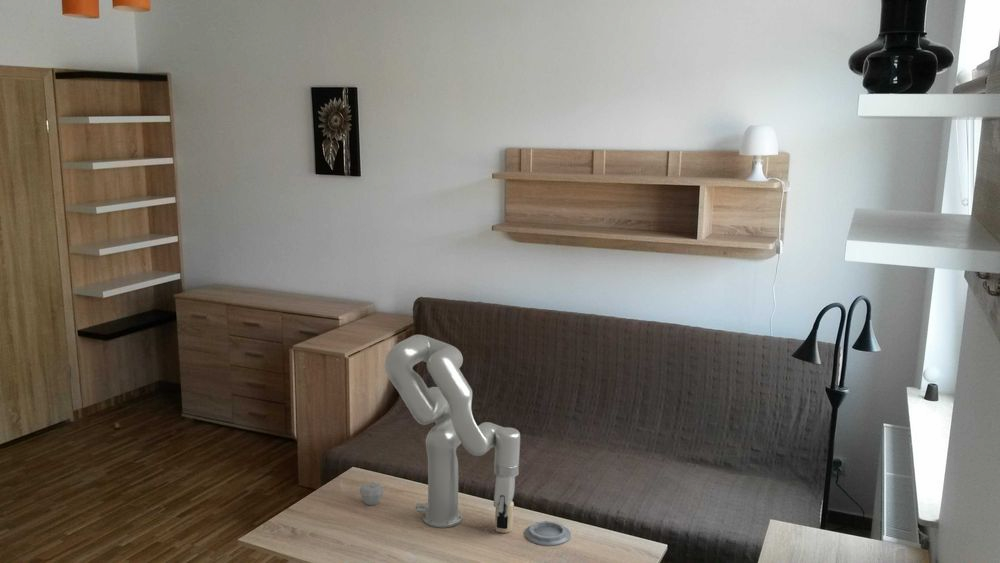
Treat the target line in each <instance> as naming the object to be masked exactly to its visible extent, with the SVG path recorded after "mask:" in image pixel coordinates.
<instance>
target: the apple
mask: <svg viewBox="0 0 1000 563" xmlns="http://www.w3.org/2000/svg"><path fill="white" fill-rule="evenodd" d="M359 493H360V497H361V499H362V501H363V503H364V504H365V505H367V506H374V505H377V504H378V503H380V501H381V499H382V497H383V494H384V489H383V487H382V485H381V483H379V482H375V481H374V482H372V481H371V482H365V483H364V484H362V485H361V486H360V488H359Z"/></svg>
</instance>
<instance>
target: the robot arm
mask: <svg viewBox="0 0 1000 563" xmlns="http://www.w3.org/2000/svg"><path fill="white" fill-rule="evenodd" d="M420 362H425V363H426V368H427V371H428V373H429V375H430V376H431V378H432V380H433V381H434V383H435V385H436V386H431V387H428V386H427V385H426V383H425V382H424V379H423V378H422V377H421V375H419V373H418V372H416V371H415V370H414V369H413V368H414V366H416V365H418V364H419V363H420ZM463 362H464V358H463V355H462V352H461V351H460V350H459V349H458V348H457V347H456V346H453V345H452V344H449V343H447V342H445V341H441V340H438V339H436V338H432V337H431V336H427V335H423V334H413V335H411V336H410V337H408V338H406V339H403V340H401V341H399V342H398V343H397V344H395V345H394V346H392V347H391V348H390V350H389V351H388V353H387V355H386V357H385V361H384V369H385V373H386V375H387V377H388V379H389V381H390V382H391V383H392V385H393V387H394V388H395V389H396V390H397V392H398V394H399V396H400V397H401V399H402V401H403V402H404V403H405V406H406V407H407V409H408V410H409V412H410V414H411V415H412V417H413V418H414V420H415V421H416V422H417V423H418V424H420V425H423V426H425V425H429V424H432V423H435V425H434V426H433V427H432V428H431V429H430V430H429V431H428V433H427V435H426V437H425V449H426V454H427V497H428V499H427V502H425V503H421V502H416V503H415V506H414V508H415V510H416V512H417V513H423V516H422V520H423V522H424V523H425V524H426V525H427V526H430V527H434V528H442V529H444V528H452V527H455V526H457V525H460V524H461V522H462V521H463V519H464V518H463V517H464V515H463V513H462V512H461V510H459V461H458V460H459V459H458V455H457V449H458V447H459V446H460V445H461V444H462V446H463V447H464V449H465V450H466V451H467V452H468V453H469V454H471V455H472V456H475V457H480V456H483V455H485V454H486V453H488V452H489V451H490V450H491V449H492V448H494V462H493V463H494V464H493V465H494V468H493V469H494V470H493V473H494V476H495V475H496V478H495V484H494V495H493V496H494V497H493V507H494V508H496V507H497V506H498V504H499V506H498V515H497V528H503V529H507V524H508V516H507V510H508V508H509V507H510V504H511V502H513V499H514V496H515V489H516V488H515V487H516V484H515V483H516V482H515V481H516V477H517V476H518V475H519V472H520V471H519V470H520V469H519V468H520V452H521V433H520V431H519V430H518V429H516V428H514V427H509V426H507V427H504V426H501V425H500V424H499V425H498V424H495V423H493V422H490V421H488V422H486V421H485V422H482V423H480V424H479V425H477V423H476V421H475V418H474V415H473V411H472V410H473V409H472V402H473V389H472V387H471V385H469V382H468V381H467V379H466V378H465V376H464V374H463V373H462V371H461V369H460V368H461V367H462V365H463ZM504 504H505V505H506V506H504ZM503 508H504V509H505V511H503Z"/></svg>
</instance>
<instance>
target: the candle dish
mask: <svg viewBox="0 0 1000 563" xmlns="http://www.w3.org/2000/svg"><path fill="white" fill-rule="evenodd" d="M524 536H525V538H526V539H527V540H528V541H529V542H531V543H532V544H535V545H539V546H545V547H555V546H560V545H563V544H565V543H567V542H569V541H570V540H571V530H569V528H567V527H566V526H564V525H563V524H561V523H559V522H556V521H552V520H541V521H536V522H534V523H533V524H530V525H529V526H527V527H526V528H525V531H524Z"/></svg>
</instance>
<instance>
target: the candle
mask: <svg viewBox="0 0 1000 563" xmlns="http://www.w3.org/2000/svg"><path fill="white" fill-rule="evenodd" d="M498 506H499V504H498ZM498 506H497V507H495V516H494V517H495V519H494V520H495V521H494V530H496V531H495V532H498V533H502V534H505V533H506V534H507V533H511V532H512V531H513V529H514V528H513V527H514V524H513V523H514V506H515V503H514V501H512V502H511V504H510V507H509V508H508V510H507V516H508V524H507V529H503V528H497V515H498ZM504 506H506V505H505V504H504ZM503 511H505V509H504V508H503Z"/></svg>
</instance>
